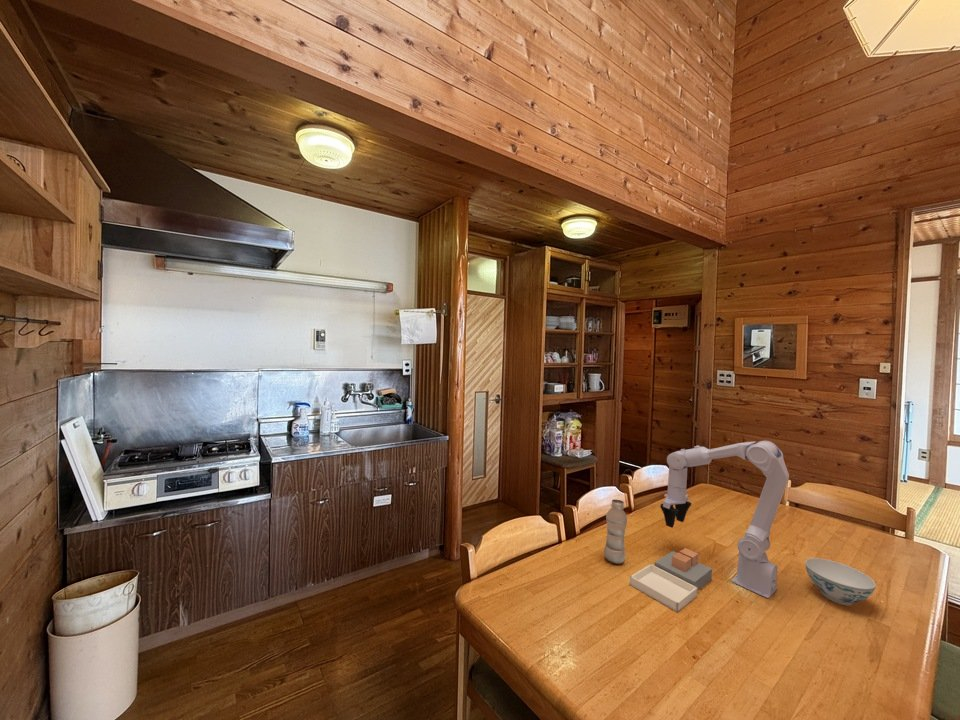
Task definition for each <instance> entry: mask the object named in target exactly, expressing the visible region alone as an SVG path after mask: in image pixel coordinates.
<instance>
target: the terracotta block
mask: <svg viewBox="0 0 960 720" xmlns="http://www.w3.org/2000/svg"><path fill="white" fill-rule="evenodd" d="M671 566H673V567H675V568H677V569H679V570H681V571H683V572H686V571H687V570H689V569H690V568H691V558H689V557H687V556H685V555H683V554H680V552H677V554H675V555H673V556H672V565H671Z"/></svg>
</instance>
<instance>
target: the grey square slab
mask: <svg viewBox="0 0 960 720" xmlns="http://www.w3.org/2000/svg"><path fill="white" fill-rule="evenodd" d="M677 553H678V552H676V551H674V550H672V551H671V552H669V553H667V554H665V555H664V556H662V557H661V558H659V559H657V560H655V561H654V566H656V567H658V568H660V569H662V570H664V571H666V572H668V573H670V574H672V575H674V576H676V577H678V578H680V579H682V580H683V581H685V582H687V583H689V584H691V585H693V586H695V587H697V588H698V591H699V590H700V589H702V588H703V587H705V586H706V585H707V584H708V583H710V581H712V578H713V577H712V576H713V568H712V567H710V566H707V565H705V564H702V563H700V562H699V561H698V563H697V564H696V565H694V566H693V567H691V568H690V569H689V570H687V571H686V572H683V571H681V570H679V569H677V568H675V567H673V566H671V565H672V556H673V555H675V554H677Z"/></svg>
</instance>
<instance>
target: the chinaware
mask: <svg viewBox="0 0 960 720" xmlns="http://www.w3.org/2000/svg"><path fill="white" fill-rule="evenodd" d="M804 562H805V563H804V564H805V570H806V573H807V575H808V577H809V578H810V580H811V582H812V583H813V584H814V586H815V587H816V588H817V589H818V590H819V591H820V592H821V595H822V596H823V597H825V598H826V599H827V600H829V601H832V602H833V603H835V604H836V603H837V604H839V605H842V606H843V605H844V606H852V605H854V604H853V603H859V602H863V601H866V600H867V599H869V598H870V597H871V596H872V594H873V593H874V592H875V589H876V586H877V585H876V582H875V581H874V580H873V578H871V577H870V576H868V575H867V574H866V573H863V572H862V571H859V570H858V569H857V568H854V567H852V566H849V565H847V564H843V563H841V562H838V561H833V560H831V559H825V558H819V557H818V558H817V557H810V558H807V559H805V561H804Z"/></svg>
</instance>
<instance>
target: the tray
mask: <svg viewBox="0 0 960 720" xmlns="http://www.w3.org/2000/svg"><path fill="white" fill-rule="evenodd" d="M629 586H632V587H633V588H635V589H636V590H638V591H640V592H641V593H643V594H645V595H647V596H648V597H650V598H652V599H653V600H655V601H657V602H659V603H660V604H661V605H663V606H665V607H667V608H669V609H671V610H672V611H674V612H675V613H679V612H680V611H681V610H682V609H683V608H686V606H687V605H688V604H689V603H690V602H691V601H693V600H694V599H695V598H697V597H698V591H699V590H698V588H697V587H695V586H693V585H691V584H689V583H687V582H685V581H683V580H682V579H680V578H678V577H676V576H674V575H672V574H670V573H668V572H666V571H664V570H662V569H660V568H658V567H656V566H655V564H654V565H653V564H652V563H649V564H648V565H646V566H645V567H643V568H641V569H640V570H638V571H636V572H635V573H633V574H632V575H630V576H629Z"/></svg>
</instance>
